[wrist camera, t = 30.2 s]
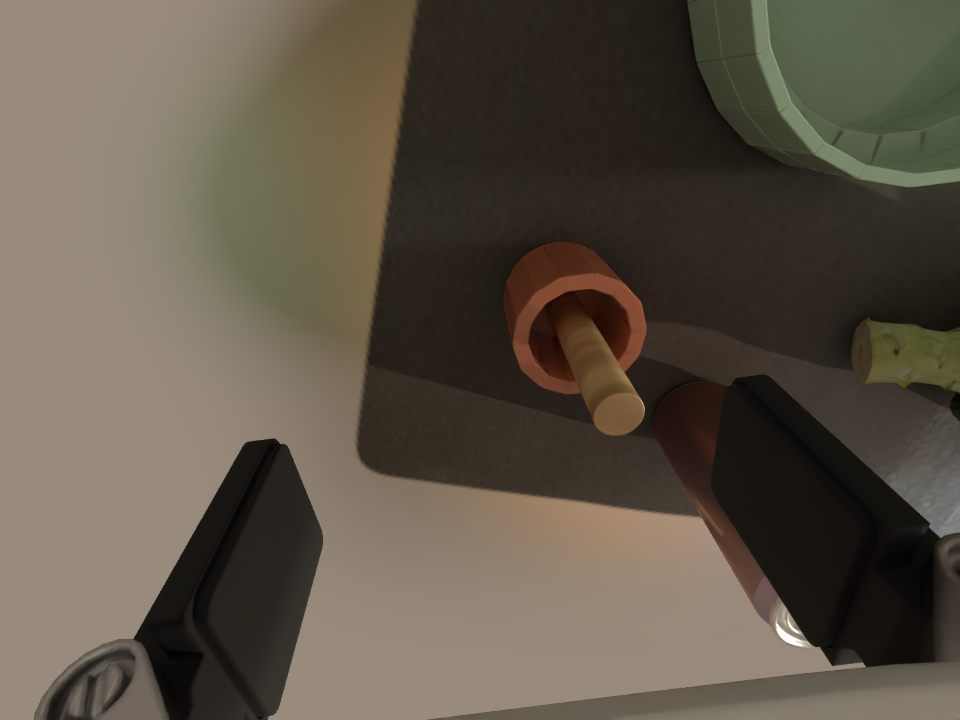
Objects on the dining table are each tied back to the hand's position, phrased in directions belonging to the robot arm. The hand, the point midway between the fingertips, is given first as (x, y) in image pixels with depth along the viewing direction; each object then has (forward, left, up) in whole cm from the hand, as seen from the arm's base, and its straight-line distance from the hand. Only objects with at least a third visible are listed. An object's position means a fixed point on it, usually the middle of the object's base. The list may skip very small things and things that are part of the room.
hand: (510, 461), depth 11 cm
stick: (+4, +5, -19) cm, 20 cm away
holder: (+4, +4, -20) cm, 20 cm away
